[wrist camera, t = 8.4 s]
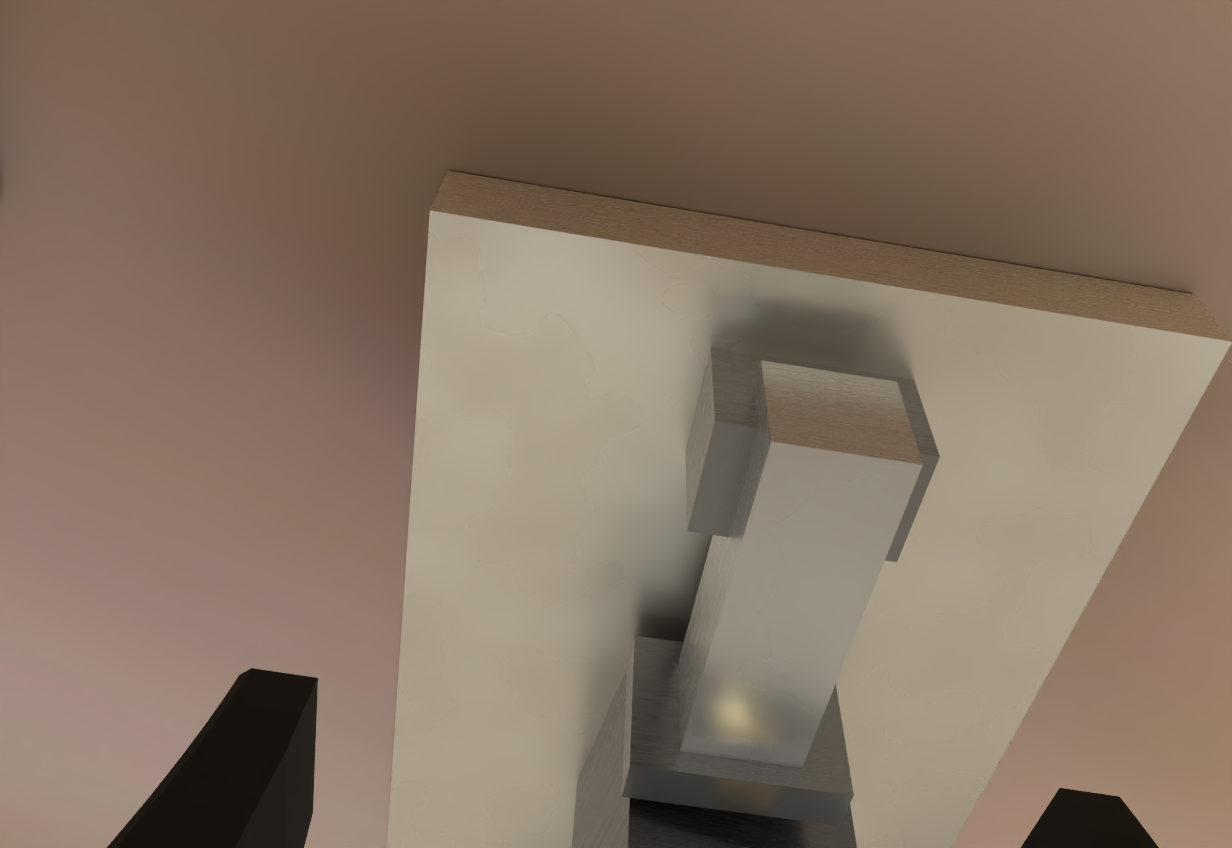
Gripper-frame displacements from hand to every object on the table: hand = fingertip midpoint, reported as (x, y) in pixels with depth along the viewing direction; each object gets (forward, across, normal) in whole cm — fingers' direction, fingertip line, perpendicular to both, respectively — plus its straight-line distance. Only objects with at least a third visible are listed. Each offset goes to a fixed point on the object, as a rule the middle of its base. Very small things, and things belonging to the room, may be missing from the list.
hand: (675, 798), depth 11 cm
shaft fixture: (+9, -2, +9) cm, 13 cm away
